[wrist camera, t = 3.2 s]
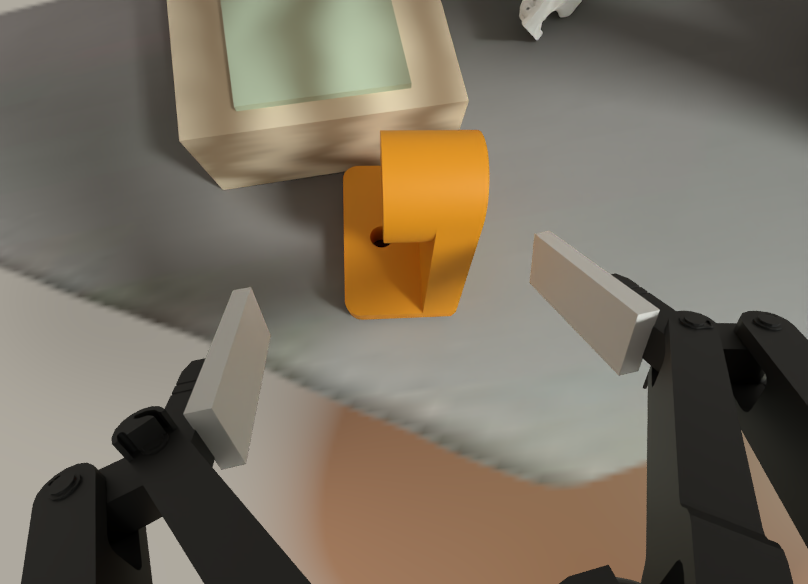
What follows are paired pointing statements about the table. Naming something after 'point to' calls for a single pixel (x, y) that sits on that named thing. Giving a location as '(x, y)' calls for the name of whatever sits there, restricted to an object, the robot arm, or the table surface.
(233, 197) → the table surface
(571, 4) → the white bone skull
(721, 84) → the table surface
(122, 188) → the table surface
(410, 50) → the riser stand
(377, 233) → the bracket
